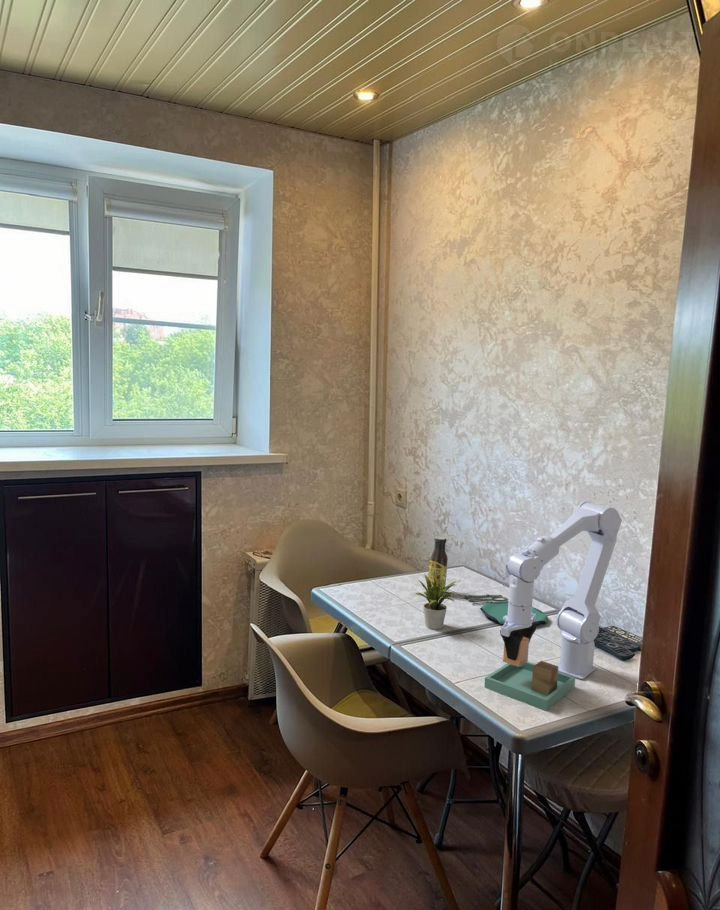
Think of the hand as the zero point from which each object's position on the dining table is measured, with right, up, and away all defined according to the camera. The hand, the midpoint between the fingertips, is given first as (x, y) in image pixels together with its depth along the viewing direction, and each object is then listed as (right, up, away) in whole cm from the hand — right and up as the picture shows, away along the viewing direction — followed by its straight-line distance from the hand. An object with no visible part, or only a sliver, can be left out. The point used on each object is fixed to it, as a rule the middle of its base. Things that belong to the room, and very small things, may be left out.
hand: (516, 656), depth 163 cm
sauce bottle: (-12, +2, +66) cm, 67 cm away
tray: (+3, -7, -2) cm, 8 cm away
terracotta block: (0, -2, 0) cm, 2 cm away
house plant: (-16, -2, +34) cm, 38 cm away
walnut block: (+6, -7, -4) cm, 10 cm away
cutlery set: (+8, -2, +51) cm, 51 cm away
